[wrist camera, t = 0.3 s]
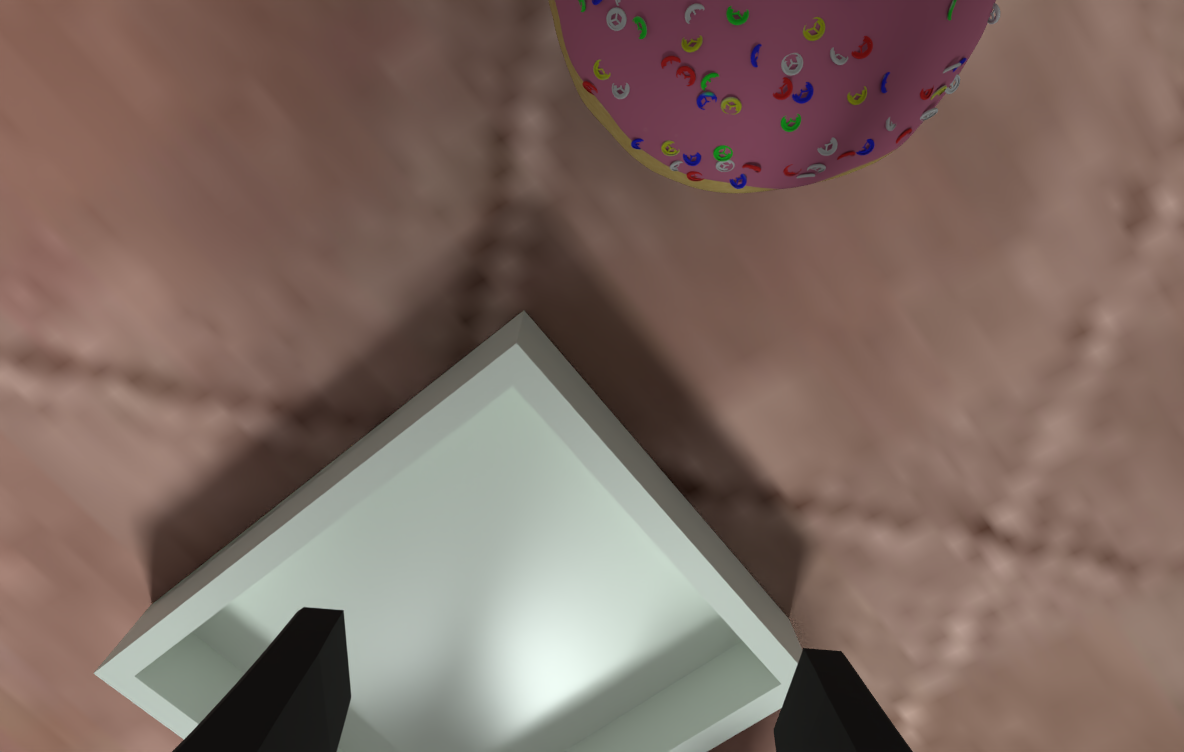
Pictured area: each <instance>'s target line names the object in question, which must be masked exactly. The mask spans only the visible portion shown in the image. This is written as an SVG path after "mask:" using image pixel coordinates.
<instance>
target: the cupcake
mask: <svg viewBox="0 0 1184 752" xmlns="http://www.w3.org/2000/svg"><path fill="white" fill-rule="evenodd" d="M995 1H996V0H549V5H550V8H551V12H552V16H553V20H554V25H555V30H556V34H557V37H558V41H559V44H560V47H561V50H562V53H563V56H564V58H565V61H566V64H567V67H568V70H569V72H570V75H571V77H572V80H573V82H574V85H575V87H576V89H577V91H578V93H579V95H580V97H581V99H582V100H583V102H584V103H585V105H586V106H587V107H588V109H589V110H590V111H591V112H592V114H593V115H594V116H595V117H596V118H597V119H598V120H599V122H600V123H601V124H602V125H603V126H604V127H605V128H606V129H607V130H608V131H609V132H610V133H611V134H612V136H613V137H614V138H615V139H616V140H617V141H618V142H619V144H620V145H621V146H622V147H623V148H624V149H625V150H626V151H627V152H628V153H629V154H630V155H631V156H633V157H634V158H635V159H636V160H637V161H639V162H640V163H641V164H643V165H644V166H646V167H647V168H649V169H650V170H652V171H654V172H656V173H658V174H660V175H662V176H665V177H667V178H669V179H672V180H674V181H677V182H680V183H682V184H685V185H688V186H691V187H694V188H698V189H702V190H707V191H713V192H721V193H751V192H760V191H768V190H776V189H785V188H793V187H799V186H804V185H808V184H812V183H816V182H821V181H826V180H830V179H833V178H837V177H840V176H843V175H846V174H849V173H852V172H854V171H857V170H859V169H862V168H864V167H866V166H869V165H871V164H873V163H875V162H877V161H879V160H881V159H882V158H884V157H885V156H887V155H889V154H890V153H892V152H893V151H895V150H896V149H897V148H898V147H900V146H901V145H902V144H903V143H904V142H905V141H906V140H907V139H908V138H909V137H910V136H911V135H912V134H913V133H914V131H915V130H916V129H917V128H918V127H919V126H920V124H921V123H922V122H923V121H924V120H927V119H929V118H931V117H932V116H934V115H935V114H936V113H937V112H938V109H937V108H935V106H936V105H937V104H938V103H939V101H940V100H941V99H942V97H943V96H944V95H945V93H947V94H951V93H953V92H954V91H955V90H956V89H957V88H958V86H959V83H960V76H959V75H958V74H959V73H960V71H961V70H962V68H963V67H964V65H965V64H966V62H967V60H968V59H969V57H970V55H971V54H972V52H973V50H974V49H975V47H976V45H977V43H978V42H979V40H980V38H981V36H982V34H983V32H984V30H985V28H986V25H987V23H989V24H994V23H996V22H997V21H998V20H999V18H1000V9H999V6H998V5H997V4H995ZM993 9H994V10H993ZM992 10H993V12H992ZM994 12H995V13H996V16H995V18H994V15H993V13H994ZM990 16H992V19H990ZM954 80H955V81H956V83H955V85H954V87H953V82H954ZM950 86H951V87H952V88H950ZM949 88H950V89H949ZM930 113H931V114H930ZM929 114H930V115H929Z"/></svg>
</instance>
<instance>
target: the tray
mask: <svg viewBox="0 0 1184 752" xmlns="http://www.w3.org/2000/svg"><path fill="white" fill-rule="evenodd" d="M303 607H310V608H322V609H335V610H344V620H345V631H346V642H347V653H348V665H349V676H350V687H351V701H350V705H349V708H348V712H347V716H346V720H345V723H344V727H343V731H342V734H341V738H340V742H339V745H338V749H337V752H707V751H709V750H711V749H712V748H714V747H716V746H718V745H719V744H721V743H723V742H724V741H726V740H728V739H729V738H731V737H733V736H735V735H736V734H738V733H740V732H741V731H743V730H745V729H746V728H748V727H750V726H752V725H753V724H755V723H757V722H758V721H760V720H762V719H763V718H765V717H767V716H768V715H770V714H772V713H774V712H775V711H777V710H779V709H780V708H782V706H783V703H784V700H785V697H786V695H787V692H788V689H789V686H790V684H791V681H792V678H793V676H794V673H795V670H796V667H797V665H798V662H799V659H800V656H801V654H802V648H801V646H800V643H799V641H798V639H797V636H796V634H795V632H794V629H793V627H792V625H791V622H790V620H789V619H788V617H787V616H786V615H785V614H784V613H783V612H782V610H781V609H780V608H779V607H778V606H777V605H776V603H775V602H774V601H773V600H772V599H771V598H770V596H769V595H768V594H767V593H766V592H765V591H764V589H763V588H762V587H761V586H760V585H759V584H758V582H757V581H756V580H755V579H754V578H753V577H752V575H751V574H750V573H749V572H748V571H747V570H746V568H745V567H744V566H743V565H742V564H741V563H740V561H739V560H738V559H737V558H736V557H735V556H734V554H733V553H732V552H731V551H730V550H729V549H728V547H727V546H726V545H725V544H724V543H723V542H722V540H721V539H720V538H719V537H718V536H717V535H716V533H715V532H714V531H713V530H712V529H711V528H710V526H709V525H708V524H707V523H706V522H705V521H704V519H703V518H702V517H701V516H700V515H699V514H698V512H697V511H696V510H695V509H694V508H693V507H692V505H691V504H690V503H689V502H688V501H687V500H686V498H685V497H684V496H683V495H682V494H681V493H680V491H679V490H678V489H677V488H676V487H675V486H674V484H673V483H672V482H671V481H670V480H669V479H668V477H667V476H666V475H665V474H664V473H663V472H662V470H661V469H660V468H659V467H658V466H657V465H656V463H655V462H654V461H653V460H652V459H651V458H650V456H649V455H648V454H647V453H646V452H645V451H644V449H643V448H642V447H641V446H640V445H639V444H638V442H637V441H636V440H635V439H634V438H633V437H632V435H631V434H630V433H629V432H628V431H627V430H626V428H625V427H624V426H623V425H622V424H621V423H620V421H619V420H618V419H617V418H616V417H615V416H614V414H613V413H612V412H611V411H610V410H609V409H608V407H607V406H606V405H605V404H604V403H603V402H602V400H601V399H600V398H599V397H598V396H597V395H596V393H595V392H594V391H593V390H592V389H591V388H590V386H589V385H588V384H587V383H586V382H585V381H584V379H583V378H582V377H581V376H580V375H579V374H578V372H577V371H576V370H575V369H574V368H573V367H572V365H571V364H570V363H569V362H568V361H567V360H566V358H565V357H564V356H563V355H562V354H561V353H560V351H559V350H558V349H557V348H556V347H555V346H554V344H553V343H552V342H551V341H550V340H549V339H548V337H547V336H546V335H545V334H544V333H543V332H542V330H541V329H540V328H539V327H538V326H537V325H536V323H535V322H534V321H533V320H532V319H531V318H530V317H529V315H528V314H527V313H526V312H525V311H522V312H521V313H520V314H518V315H517V316H516V317H515V318H513V319H512V320H511V321H510V322H508V323H507V324H506V325H505V326H503V327H502V328H501V329H500V330H498V331H497V332H496V333H494V334H493V335H492V336H491V337H489V338H488V339H487V340H486V341H484V342H483V343H482V344H481V345H479V346H478V347H477V348H475V349H474V350H473V351H472V352H470V353H469V354H468V355H467V356H465V357H464V358H463V359H462V360H460V361H459V362H458V363H456V364H455V365H454V366H453V367H451V368H450V369H449V370H448V371H446V372H445V373H444V374H443V375H441V376H440V377H439V378H438V379H436V380H435V381H434V382H432V383H431V384H430V385H429V386H427V387H426V388H425V389H424V390H422V391H421V392H420V393H419V394H417V395H416V396H415V397H413V398H412V399H411V400H410V401H408V402H407V403H406V404H405V405H403V406H402V407H401V408H400V409H398V410H397V411H396V412H394V413H393V414H392V415H391V416H389V417H388V418H387V419H386V420H384V421H383V422H382V423H381V424H379V425H378V426H377V427H376V428H374V429H373V430H372V431H370V432H369V433H368V434H367V435H365V436H364V437H363V438H362V439H360V440H359V441H358V442H357V443H355V444H354V445H353V446H351V447H350V448H349V449H348V450H346V451H345V452H344V453H343V454H341V455H340V456H339V457H338V458H336V459H335V460H334V461H333V462H331V463H330V464H329V465H327V466H326V467H325V468H324V469H322V470H321V471H320V472H319V473H317V474H316V475H315V476H314V477H312V478H311V479H310V480H308V481H307V482H306V483H305V484H303V485H302V486H301V487H300V488H298V489H297V490H296V491H295V492H293V493H292V494H291V495H289V496H288V497H287V498H286V499H284V500H283V501H282V502H281V503H279V504H278V505H277V506H276V507H274V508H273V509H272V510H271V511H269V512H268V513H267V514H265V515H264V516H263V517H262V518H260V519H259V520H258V521H257V522H255V523H254V524H253V525H252V526H250V527H249V528H248V529H246V530H245V531H244V532H243V533H241V534H240V535H239V536H238V537H236V538H235V539H234V540H233V541H231V542H230V543H229V544H227V545H226V546H225V547H224V548H222V549H221V550H220V551H219V552H217V553H216V554H215V555H214V556H212V557H211V558H210V559H209V560H207V561H206V562H205V563H203V564H202V565H201V566H200V567H198V568H197V569H196V570H195V571H193V572H192V573H191V574H190V575H188V576H187V577H186V578H184V579H183V580H182V581H181V582H179V583H178V584H177V585H176V586H174V587H173V588H172V589H171V590H169V591H168V592H167V593H165V594H164V595H163V596H162V597H160V598H159V599H158V600H157V601H155V602H154V603H153V604H152V605H150V607H149V608H148V609H147V610H146V611H145V613H144V614H143V615H142V616H141V617H140V619H139V620H138V621H137V622H136V623H135V625H134V626H133V627H132V628H131V629H130V630H129V632H128V633H127V634H126V635H125V636H124V638H123V639H122V640H121V641H120V642H119V644H118V645H117V646H116V647H115V648H114V650H113V651H112V652H111V653H110V654H109V655H108V657H107V658H106V659H105V660H104V661H103V663H102V664H101V665H100V666H99V667H98V669H97V670H96V671H95V672H94V674H95V675H96V676H98V677H99V678H100V679H102V680H103V681H105V682H106V683H107V684H109V685H110V686H111V687H113V688H114V689H116V690H117V691H118V692H120V693H121V694H122V695H124V696H125V697H126V698H128V699H129V700H131V701H132V702H133V703H135V704H136V705H137V706H139V707H140V708H142V709H143V710H144V711H146V712H147V713H148V714H150V715H151V716H153V717H154V718H155V719H157V720H158V721H159V722H161V723H162V724H163V725H165V726H166V727H168V728H169V729H170V730H172V731H173V732H174V733H176V734H177V735H179V736H180V737H181V738H183V739H185V738H186V737H187V736H188V735H189V734H190V733H191V732H192V731H193V730H194V729H195V728H196V727H197V725H198V724H199V723H200V722H201V721H202V720H203V719H204V718H205V717H206V716H207V715H208V714H209V712H210V711H211V710H212V709H213V708H214V707H215V706H216V705H217V704H218V703H219V702H220V701H221V699H222V698H223V697H224V696H225V695H226V694H227V693H228V692H229V691H230V690H231V689H232V688H233V686H234V685H235V684H236V683H237V682H238V681H239V680H240V678H241V677H242V676H243V675H244V674H245V673H246V672H247V671H248V669H249V668H250V667H251V666H252V665H253V664H254V663H255V661H256V660H257V659H258V658H259V657H260V656H261V654H262V653H263V652H264V651H265V650H266V649H267V647H268V646H269V645H270V644H271V643H272V641H273V640H274V639H275V638H276V637H277V635H278V634H279V633H280V632H281V631H282V629H283V628H284V627H285V626H286V625H287V623H288V622H289V621H290V620H291V618H292V617H293V616H294V615H295V614H296V612H297V611H299V610H300V609H302V608H303Z"/></svg>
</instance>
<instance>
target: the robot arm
mask: <svg viewBox="0 0 1184 752" xmlns="http://www.w3.org/2000/svg"><path fill="white" fill-rule="evenodd" d="M350 701H351V687H350V676H349V665H348V653H347V642H346V631H345V620H344V610H335V609H322V608H310V607H303V608H302V609H300V610H299V611H297V612H296V614H295V615H294V616H293V617H292V618H291V620H290V621H289V622H288V623H287V625H286V626H285V627H284V628H283V629H282V631H281V632H280V633H279V634H278V635H277V637H276V638H275V639H274V640H273V641H272V643H271V644H270V645H269V646H268V647H267V649H266V650H265V651H264V652H263V653H262V654H261V656H260V657H259V658H258V659H257V660H256V661H255V663H254V664H253V665H252V666H251V667H250V668H249V669H248V671H247V672H246V673H245V674H244V675H243V676H242V677H241V678H240V680H239V681H238V682H237V683H236V684H235V685H234V686H233V688H232V689H231V690H230V691H229V692H228V693H227V694H226V695H225V696H224V697H223V698H222V699H221V701H220V702H219V703H218V704H217V705H216V706H215V707H214V708H213V709H212V710H211V711H210V712H209V714H208V715H207V716H206V717H205V718H204V719H203V720H202V721H201V722H200V723H199V724H198V725H197V727H196V728H195V729H194V730H193V731H192V732H191V733H190V734H189V735H188V736H187V737H186V738H185V739H184V740H183V741H182V742H181V743H180V744H179V745H178V746H177V747H176V748H175V749H174V750H173V751H172V752H337V749H338V745H339V742H340V738H341V734H342V731H343V727H344V723H345V720H346V716H347V712H348V708H349V705H350ZM774 737H775V745H776V752H913V751H912V750H911V749H910V747H909V746H908V744H907V743H906V742H905V740H904V739H903V738H902V736H901V735H900V733H899V732H898V731H897V729H896V728H895V726H894V725H893V724H892V722H891V721H890V719H889V718H888V717H887V715H886V714H885V712H884V711H883V709H882V708H881V707H880V705H879V704H878V702H877V701H876V699H875V698H874V697H873V695H872V694H871V692H870V691H869V689H868V688H867V687H866V685H865V684H864V682H863V681H862V679H861V678H860V676H859V675H858V674H857V672H856V671H855V669H854V668H853V666H852V665H851V664H850V662H849V661H848V659H847V658H846V657H845V655H844V654H843V653H842V652H841V651H831V650H819V649H807V648H803V651H802V654H801V656H800V659H799V662H798V665H797V667H796V670H795V673H794V676H793V678H792V681H791V684H790V686H789V689H788V692H787V695H786V697H785V700H784V703H783V706H782V708H781V711H780V714H779V717H778V719H777V722H776V725H775V728H774Z"/></svg>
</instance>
